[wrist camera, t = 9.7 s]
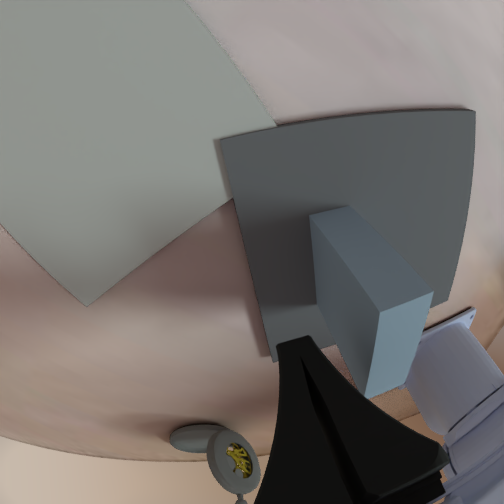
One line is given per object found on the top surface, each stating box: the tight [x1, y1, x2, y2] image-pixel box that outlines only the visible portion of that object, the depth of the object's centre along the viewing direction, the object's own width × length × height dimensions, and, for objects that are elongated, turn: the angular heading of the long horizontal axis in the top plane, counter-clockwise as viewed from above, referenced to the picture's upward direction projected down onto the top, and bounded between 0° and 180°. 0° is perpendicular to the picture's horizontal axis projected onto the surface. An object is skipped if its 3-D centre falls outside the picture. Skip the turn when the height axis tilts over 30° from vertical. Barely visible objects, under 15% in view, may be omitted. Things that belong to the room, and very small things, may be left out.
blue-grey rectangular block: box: [309, 206, 434, 399], centre depth 13 cm, size 6×2×7 cm, turn 11°
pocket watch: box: [170, 425, 261, 504], centre depth 22 cm, size 8×8×10 cm
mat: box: [220, 109, 476, 363], centre depth 17 cm, size 15×15×1 cm
